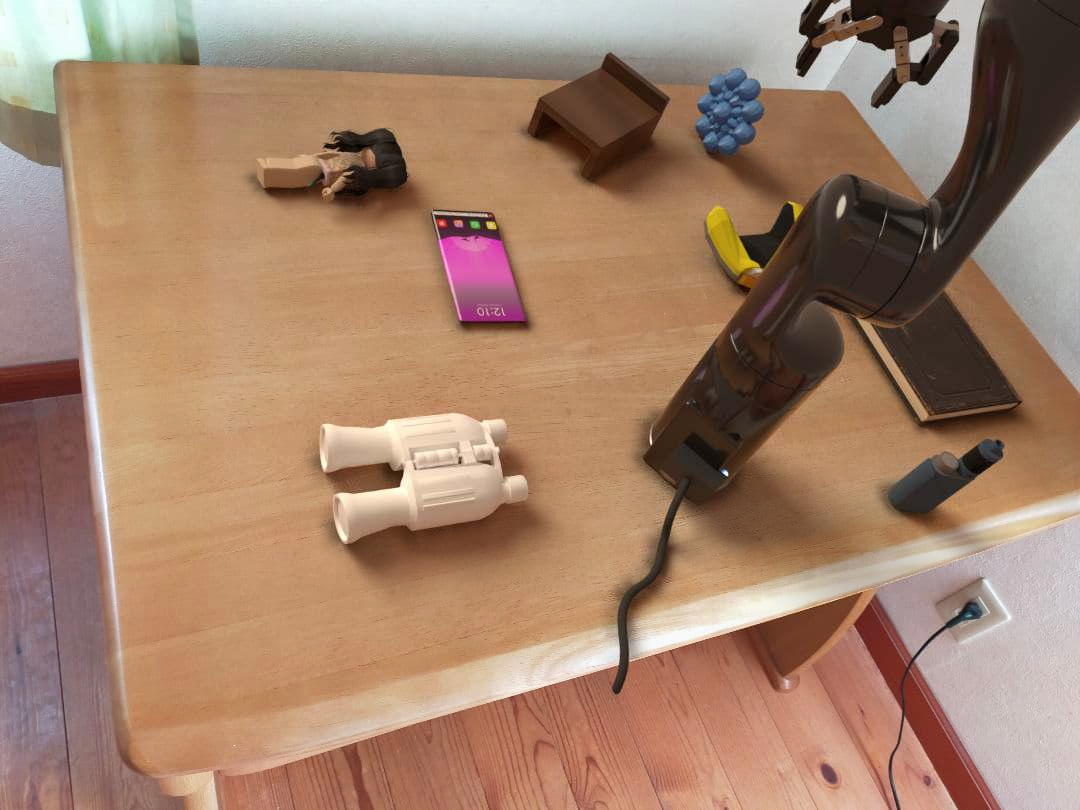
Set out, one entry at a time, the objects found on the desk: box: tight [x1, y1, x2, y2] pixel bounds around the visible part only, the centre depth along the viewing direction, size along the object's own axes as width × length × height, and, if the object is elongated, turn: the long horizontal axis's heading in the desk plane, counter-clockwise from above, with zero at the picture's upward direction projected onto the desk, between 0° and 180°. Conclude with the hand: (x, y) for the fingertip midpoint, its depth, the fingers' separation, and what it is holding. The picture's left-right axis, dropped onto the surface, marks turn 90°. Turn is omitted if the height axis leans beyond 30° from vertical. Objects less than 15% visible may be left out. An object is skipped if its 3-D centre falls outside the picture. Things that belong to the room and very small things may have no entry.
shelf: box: [526, 51, 671, 181], centre depth 109 cm, size 14×10×7 cm
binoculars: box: [318, 412, 529, 545], centre depth 73 cm, size 10×16×5 cm, turn 109°
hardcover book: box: [848, 289, 1024, 426], centre depth 108 cm, size 16×23×2 cm
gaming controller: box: [703, 201, 804, 289], centre depth 105 cm, size 15×6×10 cm
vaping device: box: [887, 438, 1005, 515], centre depth 87 cm, size 3×5×12 cm, turn 89°
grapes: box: [694, 67, 765, 158], centre depth 114 cm, size 12×7×12 cm, turn 20°
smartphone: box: [430, 209, 527, 324], centre depth 91 cm, size 7×15×1 cm, turn 16°
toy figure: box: [255, 127, 410, 202], centre depth 90 cm, size 7×6×15 cm
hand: (837, 87), depth 92 cm, fingers open, 8 cm apart
